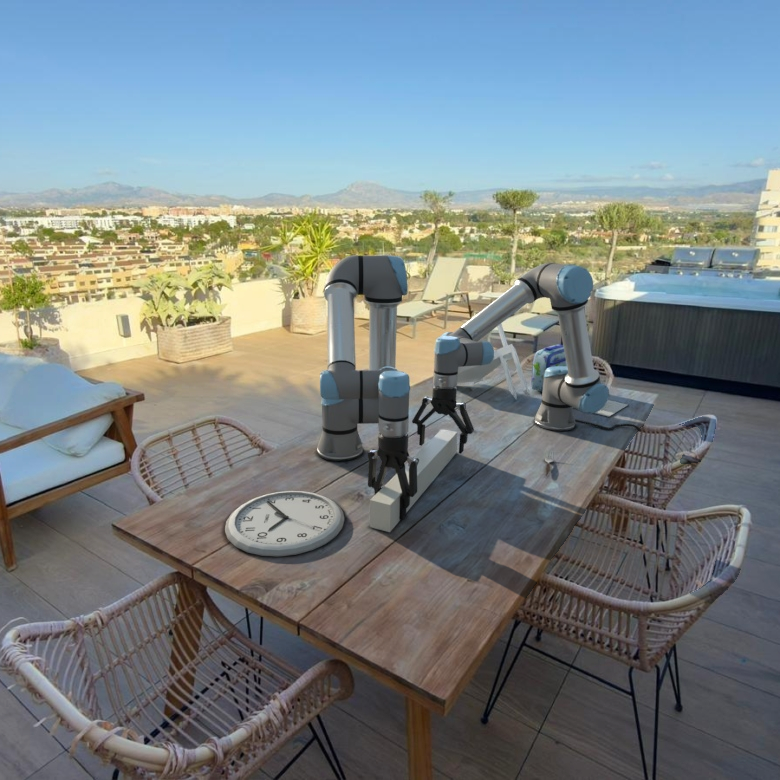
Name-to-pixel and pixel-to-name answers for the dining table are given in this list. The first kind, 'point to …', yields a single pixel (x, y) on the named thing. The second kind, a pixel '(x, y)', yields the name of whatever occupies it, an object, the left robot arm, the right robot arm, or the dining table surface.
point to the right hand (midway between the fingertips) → (441, 448)
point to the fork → (548, 462)
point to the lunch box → (546, 363)
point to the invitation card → (611, 408)
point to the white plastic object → (495, 366)
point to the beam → (428, 468)
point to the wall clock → (284, 523)
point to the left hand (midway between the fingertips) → (391, 514)
